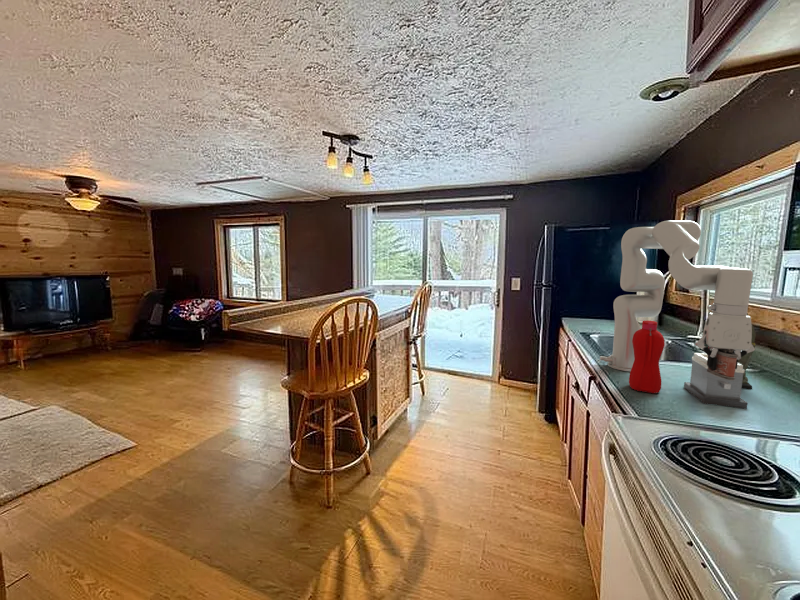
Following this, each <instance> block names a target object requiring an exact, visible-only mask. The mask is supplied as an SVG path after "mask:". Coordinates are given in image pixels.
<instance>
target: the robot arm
mask: <svg viewBox="0 0 800 600" xmlns="http://www.w3.org/2000/svg"><path fill="white" fill-rule="evenodd" d="M701 235H702V229H701V226H700V225H699V224H698V223H697V222H695V221H693V220H664V221H661V222H659V223H657V224H656V225H655V226H638V227H637V226H635V227H632V228H629V229H628V230H626V231H625V233H624V234H623V236H622V238H621V243H620V244H621V245H620V248H621V254H622V262H621V270H620V281H619V283H620V288H621V289H622V291H624V292H632V293H633V292H634V293H637V292H638V293H643V294H623V295H619V296H617V297H616V298H615V299H614V300H613V305H612V306H613V313H614V329H613V330H614V332H613V344H612V354H610V355H609V356H605V355H600V356H599V360H600V361H602V362H605V363H607V366H608V367H610V368H612V369H614V370H618V371H624V372H630V371H631V369H632V366H633V363H634V360H635V359H634V349H633V343H632V340H633V335H634V333H635V332H636V331H638V330H640V329H642V326H641V325H640V323H639V321H638V320H637V318H655V317H657V316H659V314H660V313H661V311H662V308H663V307H662V306H663V299H664V293H665V286H666V283H665V276H664V274H663V273H662V272H661V270H658V269H655V268H654V269H653V268H647V263H648V257H647V255H646V253H645V252H644V250H643V249H646V250H647V249H650V250H651V249H654V250H658V249H659V250H664V251H665V252H666V254H667V255H668V256H669V258H668V259H669V260H668V265H667V266H668V271H669V274H670V275H671V277H672V278H673V279H674V280H675V281H676V283H678V285H680V286H681V287H682V288H684V289H686V290H691V291H703V290H704V291H714V296H713V302H712V303H711V305H709V304H708V305H707V307H706V310H709V311H711V312H709V314H708V315H707V318H706V321H705V324H704V328H703V332H702V336H701V338H699V340H697V341H696V342H695V346H696V347H698V348H699V349H701V350H702V351H703V352H704V354H707V355H708V359H707V366H708V368H710V369H711V370H714V371H715V370H716V365H717V358H716V353H717V351H718V349H734V350H733V352H732V353H735V354H737V355H738V358H737V360H736V366H735V369H737V364H738V360H739V359H741V357H742V356H744V355H746V354H747V353H750V352H752V351H753V352H754V351H755V350H756V347H755V348H754V347H753V345H752V344H751V339H752V325H753V324H752V319H751V316H750V315H748V316H747V313H748V311H749V302H750V297H751V290H752V283H753V276H754V275H753V274H754V273H753V270H751V269H749V268H742V267H730V266H727V265H726V266H724V265H693V264H692V263H691V262H690V261H689V260H690V259H692V258H694V257H695V256H696V255H697V254H698V252H699V251H700V243H699V241H698V240H699V239H700V238H701ZM751 324H752V325H751ZM706 345H707V346H706Z"/></svg>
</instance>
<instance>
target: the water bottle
mask: <svg viewBox="0 0 800 600" xmlns="http://www.w3.org/2000/svg"><path fill="white" fill-rule="evenodd" d="M657 328H658V322H657V321H656V320H655V321H654V320H642V323H641V329H640V330H638V331H636V332H635V333H634V335H633V340H632V343H633V349H634V359H635V360H634V363H633V366H632V369H631V371H629V376H628V383H629V388H631V389H632V390H633V389H634V391H636V390H637V391H636V392H641V391H642V393H643V392H644V393H647V394H648V393H649V394H657V393H660V391H661V389H662V376H661V369H660V359H661V356H662V354H663V351H664V349H665V338H664V335H663V334H662V333H661V332H660V331H658V330H657Z"/></svg>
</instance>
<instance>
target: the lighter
mask: <svg viewBox="0 0 800 600" xmlns="http://www.w3.org/2000/svg"><path fill="white" fill-rule="evenodd" d="M733 350H734V349H718V351H717V353H716V358H717V365H716V370H715V371H714V370H711V369H710V368H707V372H709V373H711V374H713V375H715V376H718V377H720V378H723V379H726V380H734V379H735V377H734V373H735V366H736V360H737V358H738V355H737V354H735V353H732V352H733Z"/></svg>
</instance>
